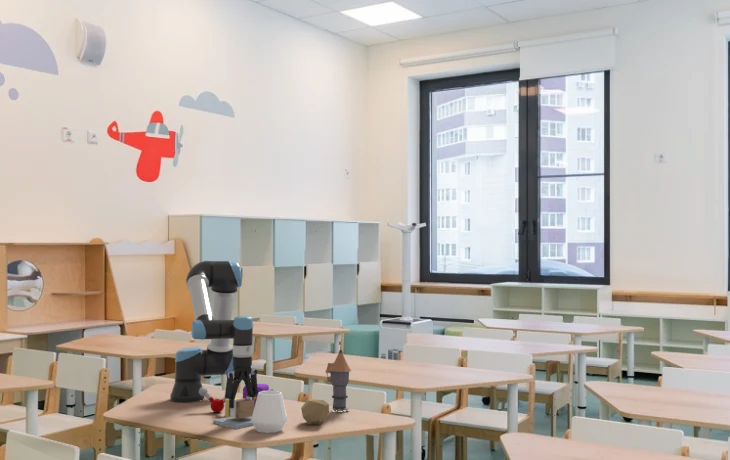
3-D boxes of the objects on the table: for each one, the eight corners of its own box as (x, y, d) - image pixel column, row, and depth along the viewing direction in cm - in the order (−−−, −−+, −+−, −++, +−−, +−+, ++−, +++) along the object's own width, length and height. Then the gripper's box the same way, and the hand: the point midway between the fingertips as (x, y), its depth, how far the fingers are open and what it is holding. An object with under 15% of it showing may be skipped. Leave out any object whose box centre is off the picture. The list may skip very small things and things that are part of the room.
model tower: (331, 407, 308) (333, 338, 309) (354, 409, 303) (355, 339, 305) (321, 411, 299) (323, 340, 301) (345, 414, 295) (346, 341, 296)
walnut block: (228, 415, 275) (229, 400, 276) (242, 413, 281) (243, 398, 281) (239, 418, 271) (240, 402, 271) (253, 416, 276) (254, 400, 276)
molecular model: (195, 411, 295) (196, 387, 296) (203, 409, 300) (204, 385, 301) (231, 415, 288) (231, 391, 289) (238, 413, 293) (239, 388, 294)
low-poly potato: (310, 429, 268) (336, 414, 270) (296, 403, 270) (323, 388, 273) (309, 431, 282) (334, 417, 284) (296, 407, 284) (321, 393, 287)
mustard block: (224, 416, 287) (225, 399, 287) (234, 414, 290) (235, 397, 291) (232, 418, 283) (232, 400, 284) (242, 416, 287) (242, 399, 287)
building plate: (213, 422, 275) (213, 419, 275) (245, 416, 286) (245, 413, 287) (235, 428, 265) (235, 425, 265) (268, 422, 277) (268, 418, 277)
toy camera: (272, 409, 302) (273, 386, 302) (241, 409, 302) (241, 385, 302) (276, 404, 312) (277, 382, 313) (245, 404, 313) (246, 381, 313)
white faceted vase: (288, 433, 259) (289, 395, 260) (252, 434, 257) (253, 396, 257) (285, 425, 272) (286, 389, 273) (250, 426, 270) (251, 389, 270)
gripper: (227, 359, 267) (226, 420, 266) (268, 354, 282) (266, 412, 281) (215, 357, 272) (214, 417, 271) (256, 353, 287) (254, 410, 286)
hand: (241, 414), depth 276 cm, fingers closed on walnut block, 7 cm apart
